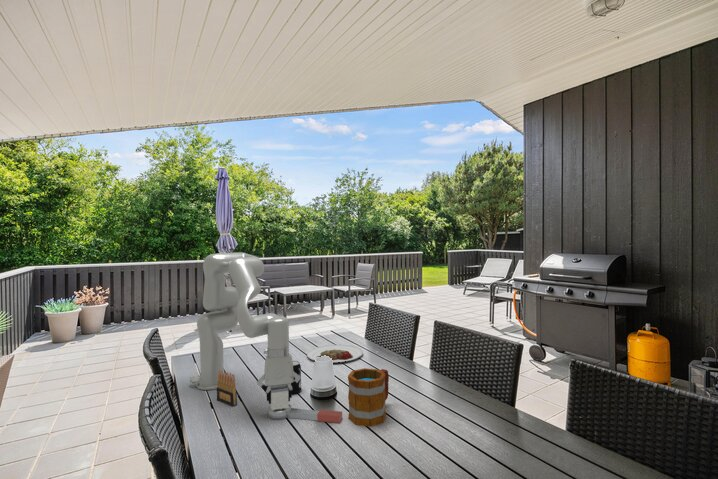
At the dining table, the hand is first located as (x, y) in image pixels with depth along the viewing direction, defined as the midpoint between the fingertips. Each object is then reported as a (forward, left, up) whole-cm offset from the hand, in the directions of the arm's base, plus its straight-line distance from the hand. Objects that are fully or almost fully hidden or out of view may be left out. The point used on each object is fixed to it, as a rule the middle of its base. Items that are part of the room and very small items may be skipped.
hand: (279, 400), depth 137 cm
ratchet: (+8, -5, -5) cm, 11 cm away
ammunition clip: (-19, +17, -5) cm, 26 cm away
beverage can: (+7, +19, -5) cm, 21 cm away
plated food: (+34, +60, -5) cm, 69 cm away
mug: (+32, -10, -5) cm, 34 cm away
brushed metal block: (0, 0, -2) cm, 2 cm away
